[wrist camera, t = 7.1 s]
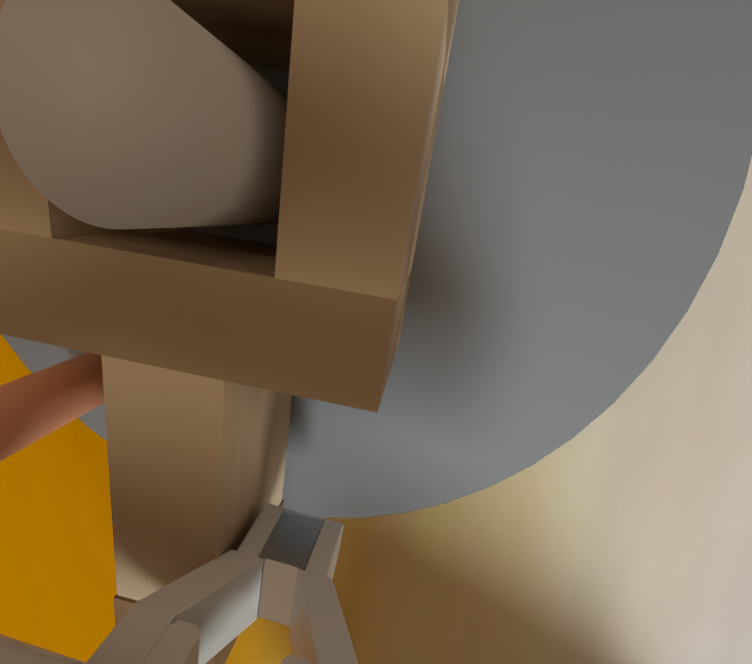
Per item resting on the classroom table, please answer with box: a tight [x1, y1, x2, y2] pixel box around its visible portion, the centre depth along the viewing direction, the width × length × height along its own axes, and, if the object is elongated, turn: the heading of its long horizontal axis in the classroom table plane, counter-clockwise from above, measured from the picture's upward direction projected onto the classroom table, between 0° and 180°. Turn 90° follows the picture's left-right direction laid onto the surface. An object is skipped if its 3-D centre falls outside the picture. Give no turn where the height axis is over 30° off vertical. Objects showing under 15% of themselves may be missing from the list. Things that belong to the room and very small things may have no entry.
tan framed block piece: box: [0, 0, 459, 664], centre depth 9 cm, size 16×8×4 cm, turn 171°
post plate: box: [0, 0, 752, 518], centre depth 8 cm, size 22×22×6 cm
